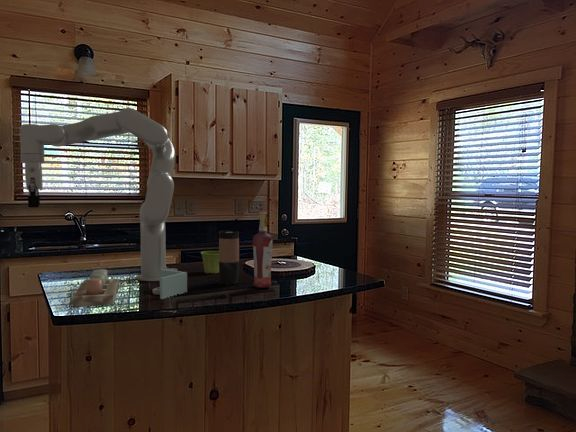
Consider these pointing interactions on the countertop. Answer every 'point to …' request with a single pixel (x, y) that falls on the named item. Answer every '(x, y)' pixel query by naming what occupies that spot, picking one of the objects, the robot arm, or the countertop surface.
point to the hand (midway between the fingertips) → (34, 206)
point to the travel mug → (228, 257)
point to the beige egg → (101, 271)
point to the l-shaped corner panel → (171, 283)
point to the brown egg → (94, 286)
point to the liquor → (262, 254)
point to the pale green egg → (99, 277)
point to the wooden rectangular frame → (93, 300)
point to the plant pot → (211, 261)
